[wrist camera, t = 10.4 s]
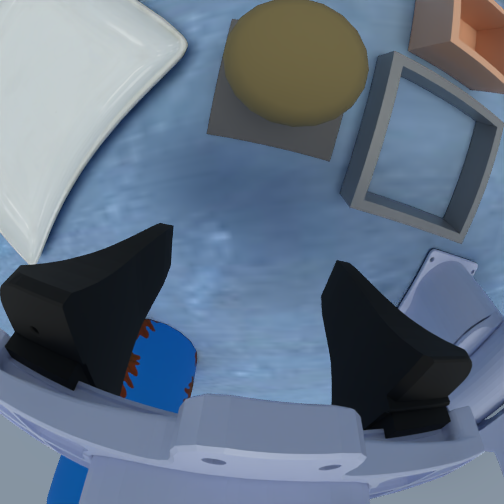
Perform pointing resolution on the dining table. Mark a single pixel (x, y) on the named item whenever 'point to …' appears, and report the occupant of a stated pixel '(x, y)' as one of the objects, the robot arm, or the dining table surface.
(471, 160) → the grey rectangular frame
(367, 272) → the dining table surface
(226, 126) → the dark grey rubber mat
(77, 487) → the thermos
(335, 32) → the cork
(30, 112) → the square plate
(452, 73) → the terracotta pot
